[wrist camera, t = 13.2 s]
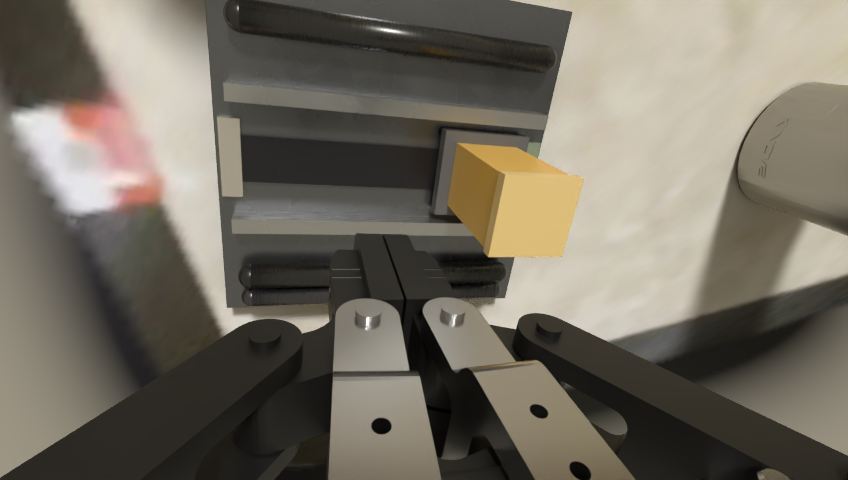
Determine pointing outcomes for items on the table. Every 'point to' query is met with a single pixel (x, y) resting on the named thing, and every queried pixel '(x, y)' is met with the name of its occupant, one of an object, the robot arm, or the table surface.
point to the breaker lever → (504, 193)
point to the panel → (363, 129)
